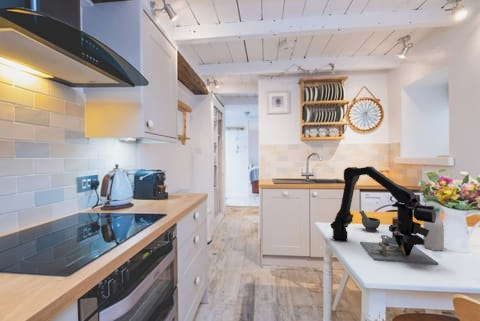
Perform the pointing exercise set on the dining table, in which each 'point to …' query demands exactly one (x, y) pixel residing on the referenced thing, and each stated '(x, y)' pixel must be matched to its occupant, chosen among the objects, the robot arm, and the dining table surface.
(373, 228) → the mortar and pestle
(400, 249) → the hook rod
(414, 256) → the flat gray base plate
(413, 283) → the dining table surface
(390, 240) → the ball-ended metal rod
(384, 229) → the dining table surface
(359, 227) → the dining table surface
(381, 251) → the eye staple
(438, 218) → the milk bottle
